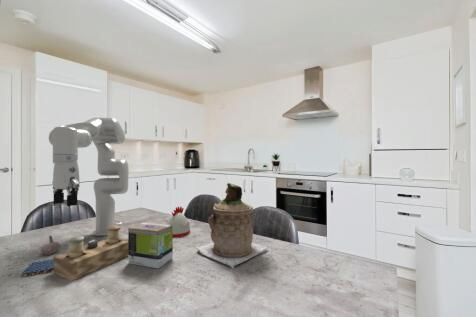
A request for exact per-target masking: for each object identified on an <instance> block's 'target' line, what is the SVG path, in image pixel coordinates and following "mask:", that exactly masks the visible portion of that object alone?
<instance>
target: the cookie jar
mask: <svg viewBox="0 0 476 317" xmlns="http://www.w3.org/2000/svg"><path fill="white" fill-rule="evenodd" d="M226 186H227V187H226V189H225V194H226V195H225V198H223V199H222V200H220V201H219V202H218V203H214V205H213V206H212V212H213V213H214V214H211V215H210V216H209V217H208V219H207V223H208V225H209V228H210V230H211V231H210V239H211V241H212V242H210V243H207V244H205V245H200V246H196V247H195V249H196V250H197V251H198V252H199V253H200V254H201V255H202V256H205V257H207V258H210V259H211V260H215V261H217V262H219V263H221V264H224V265H226V266H228V267H230V268H231V269H235V267H236V266H237V265H239V264H242V263H244V262H246V261H248V260H250V259H252V258H253V257H256V256H258V255H261V254H263V253H266V252H267V249H268V246H266V245H262V244H259V243H254V242H253V241H254V240H253V236H254V228H253V219H252V212H253V210H254V207H253V206H252V205H250V204H247V203H244V202H243V200H242V196H243V188H242V187H241V186H239V185H237V184H233V183H230V182H227V184H226Z"/></svg>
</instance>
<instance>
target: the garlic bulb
mask: <svg viewBox="0 0 476 317" xmlns="http://www.w3.org/2000/svg"><path fill="white" fill-rule="evenodd" d="M48 238H49V243H47V244H44V245H43V246H42V247H40V248H41V250H40V252H41V253H42V254H43V255H47V256H50V255H52V254H53V253H56V252H58V251H59V250H60V248H61V243H60V242H59V241H54V239H53V236H52V235H49V236H48Z"/></svg>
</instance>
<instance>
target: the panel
mask: <svg viewBox="0 0 476 317" xmlns="http://www.w3.org/2000/svg"><path fill="white" fill-rule="evenodd" d="M126 257H128V238H127V239H126V238H123V237H122V238H121V237H119V243H116V244H113V245H109V244H108V238H107V239H103V240H101V241H98V247H96V248H93V249H88V248H87V245H86V246H83V256H81V257H78V258H75V259H73V260H72V259H69V251H68V252H65V253H62V254H59V255H55V256H54V257H53V259H54V272H53V274H55V275H58V276H60V277H62V278H64V279H67V280H69V281H75V280H77V279H79V278H82V277H83V276H84V277H85V276H86V275H89V274H91V273H93V272H96V271H97V270H100V269H102V268H104V267H106V266H108V265H111V264H113V263H115V262H117V261H120V260H121V259H124V258H126Z"/></svg>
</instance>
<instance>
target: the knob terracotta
mask: <svg viewBox="0 0 476 317" xmlns="http://www.w3.org/2000/svg"><path fill="white" fill-rule="evenodd" d="M120 228H121V226H112V227H109V228H107V231H108V235H107V239H108V244H109V245H113V244H116V243H119V238H120Z"/></svg>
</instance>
